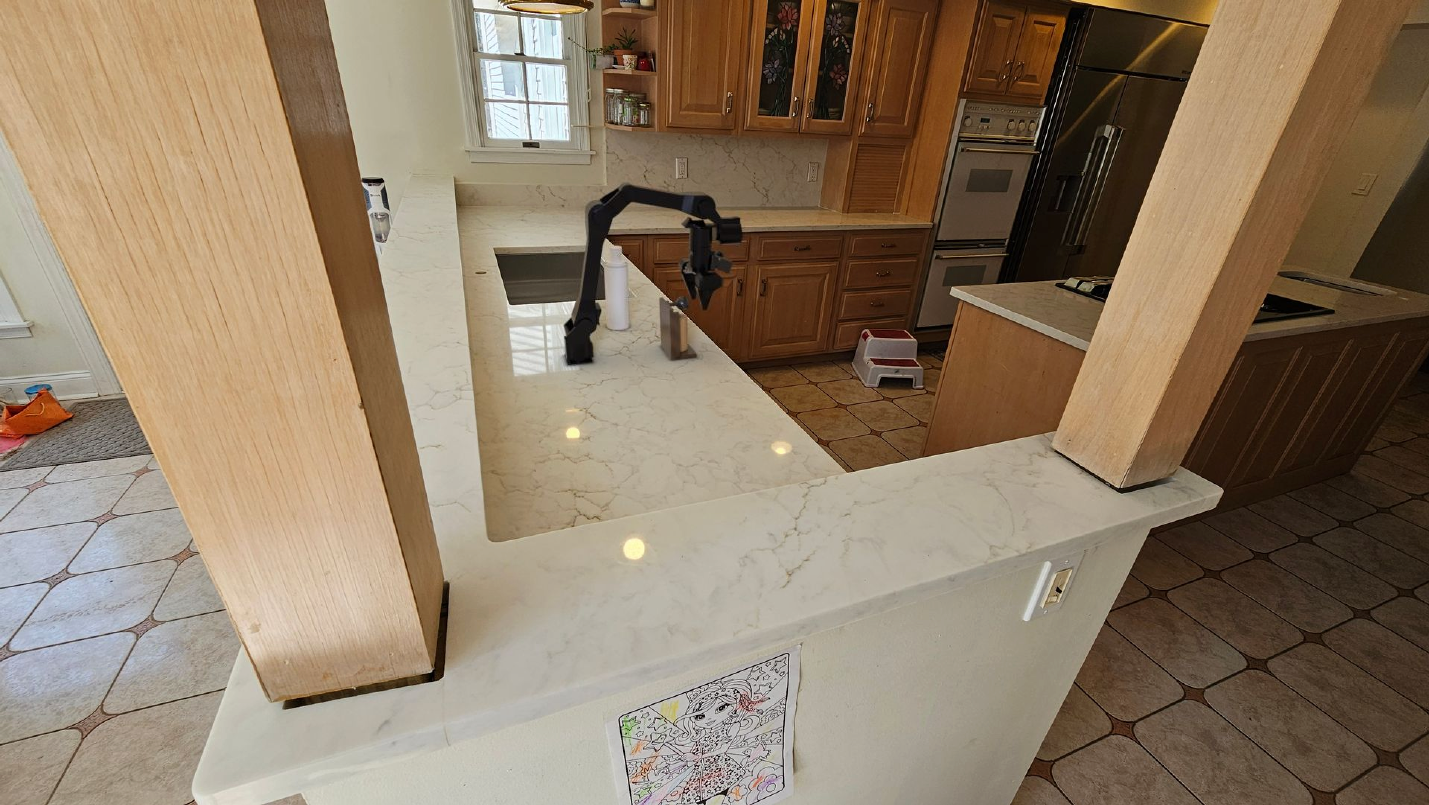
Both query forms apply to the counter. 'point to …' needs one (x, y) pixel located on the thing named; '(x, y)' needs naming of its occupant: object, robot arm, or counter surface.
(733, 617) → the counter surface
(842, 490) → the counter surface
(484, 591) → the counter surface
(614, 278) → the spray bottle
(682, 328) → the paper roll
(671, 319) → the tipping cradle
